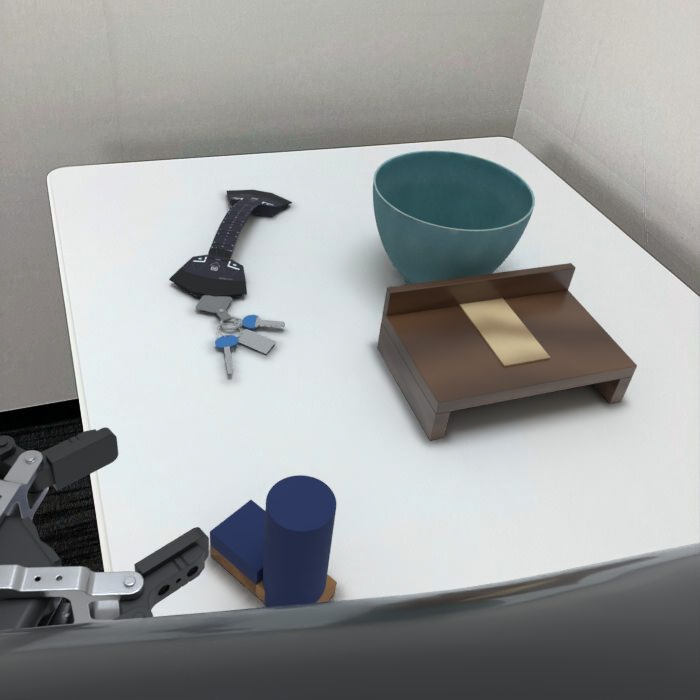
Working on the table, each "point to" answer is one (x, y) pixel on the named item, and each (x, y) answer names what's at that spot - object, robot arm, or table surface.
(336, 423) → the table surface
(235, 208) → the dark piece
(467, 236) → the teal bowl
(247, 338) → the key chain
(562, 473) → the table surface
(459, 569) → the table surface
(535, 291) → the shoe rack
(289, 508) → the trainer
